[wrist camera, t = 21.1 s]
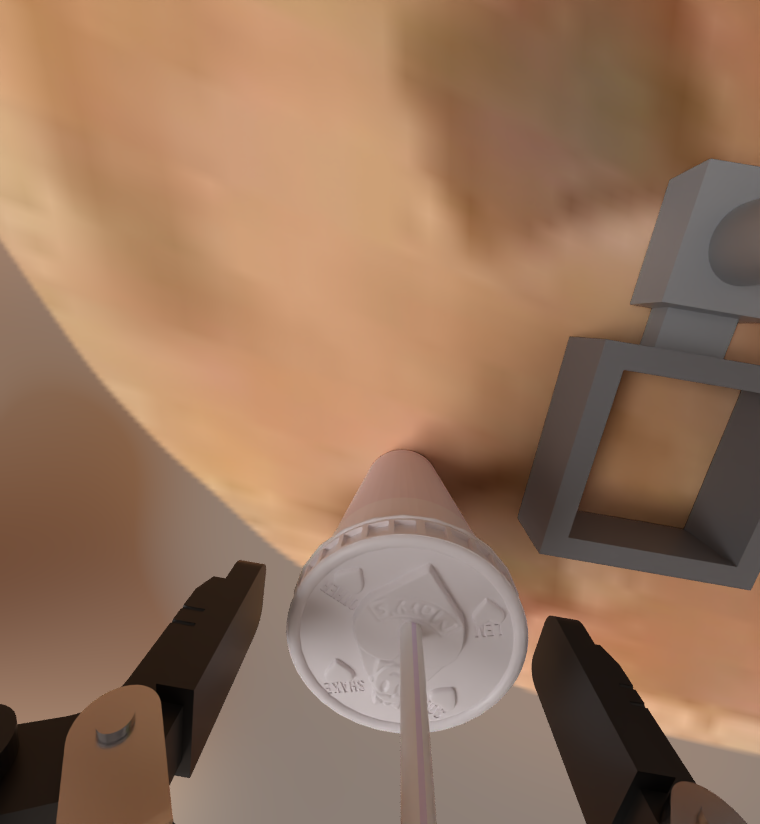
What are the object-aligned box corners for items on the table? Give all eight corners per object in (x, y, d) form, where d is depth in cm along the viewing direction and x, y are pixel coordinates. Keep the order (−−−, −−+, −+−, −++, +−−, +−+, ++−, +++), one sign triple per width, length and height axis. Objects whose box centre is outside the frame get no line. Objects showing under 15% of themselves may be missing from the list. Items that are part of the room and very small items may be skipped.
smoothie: (480, 441, 18) (735, 805, 4) (444, 550, 20) (550, 1070, 6) (354, 410, 18) (218, 683, 4) (329, 522, 19) (169, 983, 6)
